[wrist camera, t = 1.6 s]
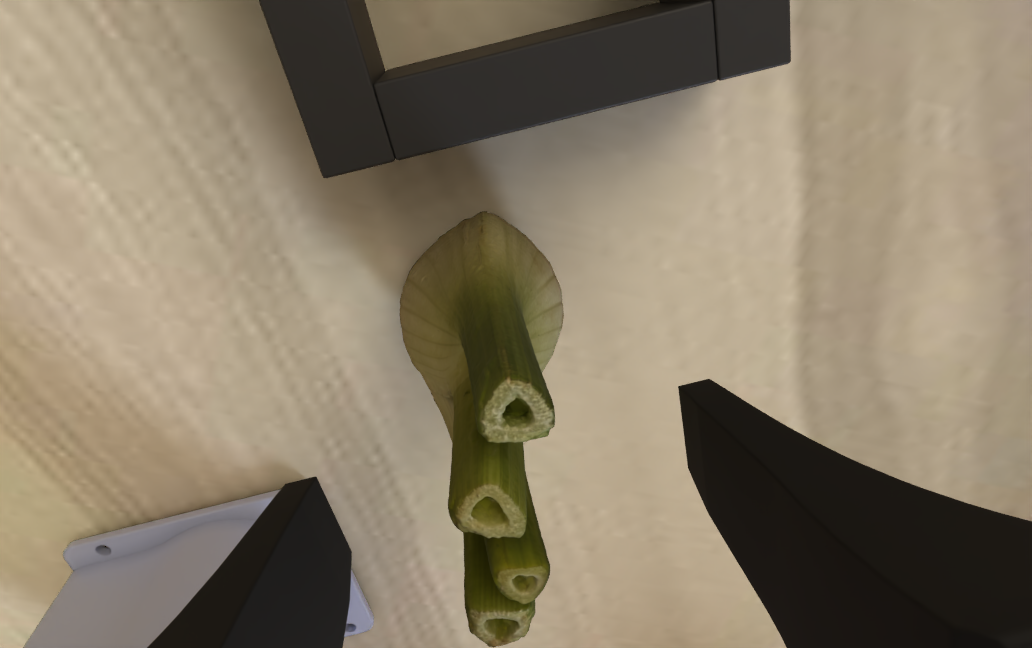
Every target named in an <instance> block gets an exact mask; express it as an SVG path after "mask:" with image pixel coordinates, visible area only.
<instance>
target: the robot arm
mask: <svg viewBox="0 0 1032 648" xmlns="http://www.w3.org/2000/svg"><path fill="white" fill-rule="evenodd" d="M678 388H679V396H680V404H681V412H682V421H683V429H684V437H685V446H686V454H687V462H688V469H689V471H690V473H691V476H692V478H693V480H694V482H695V485H696V487H697V489H698V492H699V494H700V496H701V498H702V500H703V503H704V505H705V507H706V509H707V511H708V513H709V515H710V517H711V518H712V520H713V522H714V524H715V525H716V527H717V529H718V530H719V532H720V534H721V535H722V537H723V539H724V540H725V542H726V544H727V545H728V547H729V549H730V550H731V552H732V554H733V555H734V557H735V558H736V560H737V562H738V563H739V565H740V567H741V568H742V570H743V572H744V573H745V575H746V577H747V578H748V580H749V582H750V583H751V585H752V586H753V588H754V590H755V591H756V593H757V595H758V596H759V598H760V600H761V601H762V603H763V605H764V606H765V608H766V610H767V611H768V613H769V615H770V617H771V618H772V620H773V622H774V624H775V626H776V627H777V629H778V631H779V633H780V635H781V637H782V639H783V641H784V643H785V645H786V647H787V648H1032V521H1028V520H1024V519H1020V518H1017V517H1013V516H1009V515H1005V514H1001V513H998V512H995V511H991V510H988V509H984V508H981V507H978V506H974V505H971V504H968V503H965V502H962V501H959V500H956V499H953V498H950V497H947V496H944V495H941V494H938V493H935V492H932V491H929V490H926V489H923V488H920V487H918V486H915V485H912V484H910V483H907V482H904V481H902V480H899V479H897V478H894V477H892V476H889V475H887V474H884V473H882V472H880V471H877V470H875V469H872V468H870V467H868V466H865V465H863V464H861V463H858V462H856V461H854V460H852V459H850V458H847V457H845V456H843V455H841V454H839V453H837V452H835V451H833V450H831V449H829V448H827V447H825V446H823V445H821V444H819V443H817V442H815V441H813V440H811V439H809V438H807V437H806V436H804V435H802V434H800V433H798V432H796V431H794V430H793V429H791V428H789V427H787V426H786V425H784V424H782V423H780V422H779V421H777V420H775V419H773V418H772V417H770V416H768V415H767V414H765V413H763V412H762V411H760V410H758V409H757V408H755V407H754V406H752V405H750V404H749V403H747V402H745V401H744V400H742V399H741V398H739V397H737V396H736V395H734V394H733V393H731V392H730V391H728V390H726V389H725V388H723V387H722V386H720V385H718V384H717V383H715V382H714V381H712V380H710V379H706V380H702V381H698V382H694V383H690V384H686V385H682V386H678ZM103 545H104V546H107V547H109V548H107V547H104V546H103ZM351 553H352V552H351V549H350V547H349V545H348V543H347V541H346V539H345V537H344V535H343V532H342V530H341V528H340V526H339V524H338V522H337V520H336V518H335V515H334V513H333V511H332V509H331V507H330V505H329V503H328V501H327V498H326V496H325V494H324V492H323V490H322V488H321V486H320V484H319V482H318V479H317V477H312V478H308V479H304V480H300V481H296V482H292V483H288V484H285V485H284V486H283V488H282V489H279V490H275V491H271V492H267V493H263V494H259V495H255V496H251V497H247V498H243V499H239V500H235V501H231V502H227V503H223V504H219V505H215V506H211V507H207V508H203V509H199V510H195V511H191V512H187V513H183V514H179V515H175V516H171V517H167V518H163V519H159V520H155V521H151V522H147V523H143V524H139V525H135V526H131V527H127V528H123V529H119V530H115V531H111V532H107V533H103V534H99V535H95V536H91V537H87V538H83V539H79V540H75V541H73V542H70V543H69V545H68V546H67V547H66V549H65V550H64V551H63V557H64V559H65V561H66V562H67V563H68V564H69V566H70V567H71V568H72V570H73V572H72V574H71V575H70V577H69V578H68V580H67V581H66V583H65V584H64V586H63V587H62V589H61V590H60V592H59V594H58V595H57V597H56V598H55V600H54V601H53V603H52V604H51V606H50V607H49V609H48V610H47V612H46V613H45V615H44V616H43V618H42V619H41V621H40V622H39V624H38V625H37V627H36V629H35V630H34V632H33V633H32V635H31V636H30V638H29V639H28V641H27V642H26V644H25V645H24V647H23V648H342V647H343V641H344V637H346V636H350V635H354V634H358V633H362V632H366V631H368V630H370V629H371V628H372V626H373V623H374V615H373V613H372V611H371V609H370V607H369V605H368V603H367V601H366V598H365V596H364V594H363V592H362V590H361V588H360V586H359V584H358V582H357V580H356V578H355V576H354V573H353V571H352V569H351ZM350 623H351V624H350Z"/></svg>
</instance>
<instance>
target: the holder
mask: <svg viewBox="0 0 1032 648" xmlns="http://www.w3.org/2000/svg"><path fill="white" fill-rule="evenodd" d="M659 1H660V3H655V4H651V5H647V6H643V7H639V8H635V9H631V10H627V11H623V12H619V13H615V14H611V15H607V16H602V17H598V18H594V19H590V20H586V21H582V22H578V23H574V24H570V25H566V26H562V27H558V28H554V29H550V30H546V31H542V32H538V33H534V34H530V35H526V36H522V37H518V38H514V39H510V40H506V41H502V42H498V43H494V44H490V45H486V46H482V47H478V48H474V49H469V50H465V51H461V52H457V53H453V54H449V55H445V56H441V57H437V58H433V59H429V60H425V61H421V62H417V63H413V64H409V65H405V66H401V67H397V68H393V69H389V70H387V71H386V72H385V69H384V65H383V62H382V59H381V55H380V52H379V48H378V45H377V42H376V38H375V35H374V31H373V28H372V25H371V21H370V18H369V14H368V11H367V8H366V4H365V1H364V0H259V2H260V5H261V8H262V11H263V13H264V16H265V19H266V22H267V24H268V27H269V30H270V33H271V35H272V38H273V41H274V44H275V46H276V49H277V52H278V55H279V58H280V60H281V63H282V66H283V69H284V71H285V74H286V77H287V80H288V82H289V85H290V88H291V91H292V93H293V96H294V99H295V102H296V104H297V107H298V110H299V113H300V115H301V118H302V121H303V124H304V126H305V129H306V132H307V135H308V137H309V140H310V143H311V146H312V149H313V151H314V154H315V157H316V160H317V162H318V165H319V168H320V171H321V173H322V176H323V177H324V178H330V177H334V176H338V175H342V174H346V173H350V172H354V171H358V170H362V169H366V168H370V167H374V166H378V165H382V164H386V163H390V162H393V161H395V158H396V159H397V160H402V159H406V158H410V157H414V156H418V155H422V154H426V153H430V152H434V151H438V150H442V149H446V148H450V147H454V146H458V145H462V144H466V143H470V142H474V141H478V140H482V139H486V138H491V137H495V136H499V135H503V134H507V133H511V132H515V131H519V130H523V129H527V128H531V127H535V126H539V125H543V124H547V123H551V122H555V121H559V120H563V119H567V118H571V117H575V116H579V115H583V114H587V113H591V112H595V111H599V110H603V109H607V108H611V107H615V106H619V105H623V104H627V103H631V102H635V101H639V100H643V99H647V98H652V97H656V96H660V95H664V94H668V93H672V92H676V91H680V90H684V89H688V88H692V87H696V86H700V85H704V84H708V83H712V82H715V81H717V80H724V79H728V78H732V77H736V76H740V75H744V74H748V73H753V72H757V71H761V70H765V69H769V68H773V67H777V66H781V65H785V64H788V63H790V61H791V50H790V0H659Z"/></svg>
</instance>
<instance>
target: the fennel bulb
mask: <svg viewBox="0 0 1032 648" xmlns="http://www.w3.org/2000/svg"><path fill="white" fill-rule="evenodd" d="M400 305H401V306H400V322H401V327H402V333H403V340H404V343H405V346H406V349H407V352H408V354H409V356H410V358H411V361H412V363H413V365H414V366H415V367H416V369H417V370H418V371H419V372H420V373H421V374H422V376H423V378H424V380H425V382H426V384H427V386H428V387H429V389H430V391H431V394H432V395H433V397H434V401H435V402H436V404H437V406H438V408H439V410H440V412H441V414H442V416H443V418H444V421H445V423H446V426H447V428H448V431H449V434H450V437H451V440H452V443H453V447H452V464H451V476H450V487H449V499H448V509H449V514H450V517H451V520H452V521H453V523H454V525H455V526H456V527H457V528H458V529H459V530H461V531H462V532H463V535H464V567H465V579H464V589H465V595H464V597H465V609H466V613H467V618H468V622H469V624H468V625H469V629H470V632H471V633H472V634H475V635H476V636H477V637H478V638H479V639H480V640H482V641H483V642H485V643H486V644H487V645H488V646H489V647H496V646H502V645H505V644H508V643H511V642H514V641H517V640H519V639H520V638H521V637H524V636H525V635H526V634H527V632H528V631H529V627H530V623H531V620H532V618H533V617H534V615H535V598H537V597H538V595H539V594H540V593H541V591H542V590H543V589H544V587H545V585H546V583H547V581H548V578H549V575H550V564H549V561H548V558H547V554H546V549H545V546H544V543H543V539H542V537H541V532H540V529H539V525H538V521H537V517H536V514H535V509H534V506H533V502H532V498H531V494H530V490H529V486H528V482H527V477H526V472H525V465H524V450H523V442H526V441H528V440H531V439H537V438H542V437H546V436H548V434H549V430H550V429H551V428H553V427H554V425H555V424H554V423H555V413H554V405H553V402H552V399H551V396H550V394H549V391H548V389H547V386H546V383H545V380H544V378H543V375H542V372H543V370H544V369H545V367H546V365H547V363H548V362H549V360H550V358H551V356H552V355H553V352H554V349H555V346H556V343H557V340H558V337H559V334H560V331H561V328H562V323H563V316H564V313H563V303H562V292H561V288H560V285H559V283H558V280H557V278H556V276H555V274H554V271H553V268H552V266H551V264H550V262H549V261H548V260H547V259H546V257H545V256H544V255H543V254H542V253H541V252H540V251H539V250H538V249H537V248H536V246H535V245H534V244H533V243H532V242H531V241H530V240H529V239H528V238H527V236H526V235H524V234H523V233H521V232H520V231H519V230H518V229H517V228H515V227H514V226H512V225H510V224H509V223H507V222H506V221H505V220H503V219H502V218H500V217H499V216H496V215H494V214H491V213H487V211H483V212H480V213H478V214H477V215H475V216H474V217H472V218H470V219H465V220H463V221H462V222H461V223H459V224H458V225H457V226H456V227H454V228H452V229H451V230H450V231H448V232H447V233H446V234H444V235H442V236H440V237H439V239H438V240H437V242H435V243H434V244H433V245H432V246H431V247H430V248H429V249H428V250H427V251H426V252H425V253H424V254H423V255H422V256H421V258H420V259H419V260H418V261H417V262H416V263H415V265H414V266H413V267H412V269H411V271H410V272H409V275H408V277H407V280H406V282H405V285H404V287H403V292H402V296H401V299H400Z"/></svg>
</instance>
